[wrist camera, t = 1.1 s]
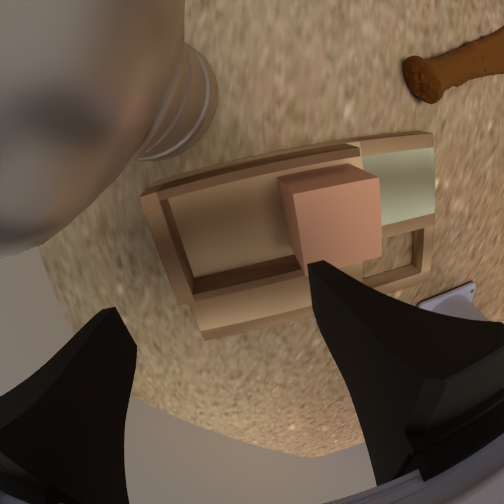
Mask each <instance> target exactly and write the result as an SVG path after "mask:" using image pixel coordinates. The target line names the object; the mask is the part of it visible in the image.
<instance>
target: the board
mask: <svg viewBox="0 0 504 504" xmlns="http://www.w3.org/2000/svg"><path fill="white" fill-rule="evenodd" d="M345 163H349V164H351V165H353V166H356V167H358V168H360V169H362V170H364V171H367V172H369V173H371V174H373V175H375V176H377V177H379V184H380V199H381V223H382V239H384V238H388V237H392V236H396V235H399V234H403V233H407V232H411V231H414V239H413V258H412V264H411V265H407V266H404V267H401V268H398V269H394V270H391V271H388V272H385V273H381V274H378V275H374V276H371V277H368V278H364V279H363V264H362V262H360V263H356V264H353V265H349V266H345V267H341V268H338V269H339V270H341V271H343V272H344V273H346V274H348V275H349V276H351V277H353V278H354V279H356V280H358V281H360V282H362V283H363V284H365V285H367V286H369V287H371V288H373V289H375V290H377V291H379V292H381V293H383V294H388V293H391V292H394V291H397V290H400V289H403V288H406V287H409V286H412V285H415V284H418V283H421V282H424V281H427V280H429V278H430V269H431V260H432V249H433V236H434V217H435V213H434V212H435V167H434V144H433V133H428V132H423V131H415V132H404V133H393V134H384V135H375V136H367V137H359V138H352V139H345V140H338V141H332V142H325V143H319V144H313V145H308V146H302V147H296V148H291V149H286V150H281V151H276V152H271V153H266V154H261V155H257V156H252V157H248V158H243V159H239V160H235V161H230V162H226V163H222V164H218V165H214V166H210V167H206V168H202V169H199V170H195V171H191V172H188V173H184V174H180V175H177V176H173V177H170V178H166V179H163V180H160V181H156V182H153V183H152V184H151V185H150V186H149V187H148V188H147V189H146V190H145V192H144V193H143V194H142V195H141V196H140V197H139V199H140V202H141V205H142V208H143V211H144V213H145V216H146V219H147V222H148V225H149V228H150V231H151V233H152V236H153V239H154V242H155V244H156V247H157V250H158V252H159V255H160V258H161V260H162V263H163V265H164V268H165V271H166V273H167V276H168V278H169V281H170V283H171V286H172V288H173V290H174V293H175V295H176V298H177V300H178V302H179V305H181V304H186V303H189V305H190V307H191V310H192V312H193V315H194V317H195V320H196V322H197V324H198V327H199V329H200V331H201V334H202V336H203V338H204V341H205V340H210V339H215V338H220V337H225V336H230V335H234V334H239V333H244V332H248V331H253V330H257V329H261V328H266V327H270V326H274V325H278V324H282V323H286V322H290V321H294V320H298V319H302V318H306V317H310V316H314V312H313V309H312V300H311V292H310V284H309V276H305V274H304V272H303V270H302V268H301V266H300V264H299V262H298V260H297V258H296V256H295V254H294V252H293V250H292V248H291V246H290V244H289V238H288V233H287V227H286V221H285V216H284V210H283V205H282V200H281V194H280V189H279V184H278V179H277V177H278V176H283V175H287V174H292V173H297V172H302V171H307V170H312V169H318V168H323V167H328V166H334V165H339V164H345Z"/></svg>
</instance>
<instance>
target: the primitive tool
mask: <svg viewBox="0 0 504 504" xmlns="http://www.w3.org/2000/svg"><path fill="white" fill-rule="evenodd" d="M403 72H404V76H405V78H406V80H407V85H408V87H409V88H410V90H411V91H412V92H413V94H415V95H416V96H417V97H418V98H420V99H421V100H422V101H424V102H426V103H429V104H433V103H436V102H437V101H438V100H440V99H441V98H442V96H443V93H444V91H445V90H447V89H449V88H450V87H451V86H457V87H458V86H460V85H462V84H463V83H465V82H466V81H468V80H470V79H474V78H478V77H483V76H487V75H495V74H504V26H503V27H501V28H500V29H498V30H497V31H495V32H494V33H492V34H490V35H488V36H483V38H482V39H478V40H476V41H472V42H468V44H466V45H465V46H463V47H460V48H457V49H454V50H453V51H450V52H448V53H446V54H442V55H441V56H438V57H434V58H430V59H423V58H421V57H419V56H411V57H408V58H407V59H406V60H405V62H404V64H403Z"/></svg>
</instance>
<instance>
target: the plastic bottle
mask: <svg viewBox="0 0 504 504" xmlns="http://www.w3.org/2000/svg"><path fill="white" fill-rule="evenodd" d="M184 11H185V0H0V259H1V258H5V257H9V256H12V255H16V254H19V253H22V252H24V251H26V250H29V249H31V248H34V247H36V246H39V245H41V244H43V243H45V242H46V241H47V240H49V239H50V238H51V237H52V236H54V235H55V234H57V233H58V232H59V231H61V230H62V229H63V228H65V227H66V226H67V225H69V224H70V223H71V222H72V221H73V220H74V219H75V218H76V217H77V216H78V215H79V214H80V213H81V212H83V211H84V210H85V209H86V208H87V207H88V206H90V205H91V204H92V203H93V202H94V201H95V200H96V199H97V197H98V196H99V195H100V194H101V193H102V192H103V191H104V190H105V189H106V188H107V187H108V186H109V185H110V184H111V183H112V182H113V181H114V180H115V179H116V178H117V177H118V175H119V174H120V173H121V172H122V171H123V170H124V169H125V168H126V167H127V166H128V165H129V164H130V163H131V162H132V161H133V160H140V161H156V160H164V159H167V158H170V157H173V156H176V155H178V154H180V153H181V152H183V151H185V150H187V149H188V148H189V147H190V146H192V145H193V144H194V143H196V141H197V140H198V139H199V138H200V137H201V136H202V135H203V134H204V132H205V131H206V129H207V128H208V126H209V124H210V123H211V121H212V118H213V115H214V113H215V110H216V105H217V100H218V85H217V81H216V76H215V73H214V71H213V69H212V67H211V65H210V63H209V62H208V61H207V60H206V58H205V57H204V56H203V55H202V54H201V53H199V52H198V51H197V50H196V49H194V48H193V47H192V46H190V45H189V44H187V43H185V41H184Z"/></svg>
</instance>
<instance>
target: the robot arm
mask: <svg viewBox="0 0 504 504" xmlns="http://www.w3.org/2000/svg"><path fill="white" fill-rule="evenodd" d="M307 268H308V276H309V284H310V292H311V300H312V309H313V312H314V315H315V318H316V321H317V324H318V327H319V329H320V332H321V334H322V336H323V338H324V340H325V342H326V344H327V346H328V348H329V350H330V352H331V354H332V356H333V358H334V360H335V362H336V364H337V366H338V368H339V370H340V372H341V374H342V376H343V378H344V380H345V383H346V385H347V387H348V390H349V393H350V395H351V398H352V401H353V404H354V407H355V410H356V413H357V416H358V419H359V422H360V425H361V428H362V432H363V435H364V438H365V442H366V445H367V448H368V452H369V456H370V460H371V463H372V468H373V472H374V475H375V479H376V484H377V487H375V488H372V489H369V490H366V491H363V492H360V493H357V494H354V495H351V496H348V497H345V498H341V499H338V500H334V501H331V502H327V503H323V504H504V324H503V323H502V322H492V321H489V320H488V319H487V318H486V317H485V316H484V315H483V314H482V313H481V312H480V311H479V310H478V309H477V308H476V307H475V306H474V305H473V304H472V300H473V296H474V292H475V287H476V283H475V282H470V283H468V284H465V285H463V286H461V287H458V288H456V289H454V290H451V291H449V292H446V293H444V294H441V295H439V296H436V297H434V298H431V299H429V300H426V301H423V302H421V303H420V304H419V305H418V307H416V306H413V305H410V304H407V303H405V302H402V301H399V300H397V299H394V298H392V297H390V296H387V295H385V294H383V293H381V292H379V291H377V290H375V289H373V288H371V287H369V286H367V285H365V284H363V283H362V282H360V281H358V280H356V279H354V278H353V277H351V276H349V275H348V274H346V273H344V272H343V271H341V270H339V269H338V268H336V267H335V266H333V265H331V264H330V263H328V262H326V261H325V260H321V261H317V262H313V263H309V264H307ZM136 356H137V345H136V343H135V342H134V340H133V338H132V336H131V335H130V333H129V331H128V329H127V328H126V326H125V324H124V322H123V320H122V319H121V317H120V315H119V313H118V311H117V309H116V307H112V308H107V309H102V310H101V311H100V312H98V313H97V314H96V315H95V316H94V317H93V318H92V319H91V320H89V321H88V322H87V323H86V324H85V325H84V326H83V327H82V328H81V329H80V330H79V331H78V332H77V333H76V334H75V335H74V336H73V337H72V338H71V340H69V341H68V343H66V344H65V345H64V346H63V347H62V349H60V350H59V351H58V352H57V353H56V354H55V355H54V356H53V357H52V358H51V359H50V360H49V361H48V362H47V363H46V364H45V365H43V366H42V367H41V368H40V369H39V370H37V371H36V372H35V373H34V374H33V375H31V376H30V377H29V378H28V379H26V380H25V381H23V382H22V383H20V384H19V385H18V386H16V387H15V388H13V389H12V390H10V391H9V392H7V393H6V394H4V395H3V396H0V504H129V500H128V494H127V488H126V479H125V467H124V432H125V431H124V429H125V420H126V413H127V408H128V403H129V398H130V393H131V388H132V384H133V379H134V374H135V369H136Z"/></svg>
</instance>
